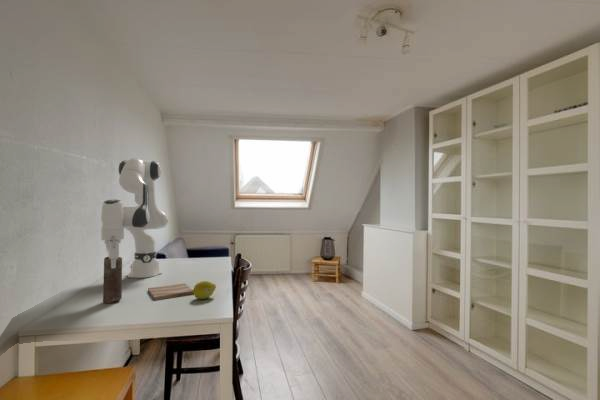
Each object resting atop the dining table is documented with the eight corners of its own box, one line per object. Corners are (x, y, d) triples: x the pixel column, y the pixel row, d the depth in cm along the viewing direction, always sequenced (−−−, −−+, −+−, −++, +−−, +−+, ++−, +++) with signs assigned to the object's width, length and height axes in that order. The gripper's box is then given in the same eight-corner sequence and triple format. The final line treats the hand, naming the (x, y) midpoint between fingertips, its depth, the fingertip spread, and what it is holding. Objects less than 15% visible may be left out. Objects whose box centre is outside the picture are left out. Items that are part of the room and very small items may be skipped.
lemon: (193, 302, 146) (193, 284, 146) (190, 298, 153) (190, 280, 153) (218, 299, 151) (218, 281, 151) (213, 294, 158) (213, 278, 158)
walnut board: (148, 291, 165) (148, 288, 165) (184, 286, 175) (184, 283, 175) (154, 300, 150) (154, 296, 150) (194, 294, 159) (194, 290, 159)
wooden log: (119, 298, 153) (119, 255, 153) (124, 301, 148) (124, 257, 148) (100, 301, 148) (100, 257, 148) (105, 305, 142) (105, 259, 142)
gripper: (122, 237, 141) (122, 269, 141) (118, 233, 158) (118, 262, 158) (105, 238, 137) (105, 271, 137) (103, 234, 155) (103, 263, 154)
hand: (112, 266), depth 148 cm, fingers open, 8 cm apart
